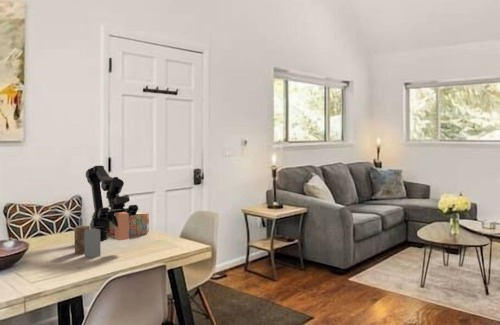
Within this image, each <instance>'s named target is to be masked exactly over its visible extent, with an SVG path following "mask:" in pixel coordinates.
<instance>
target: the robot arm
mask: <svg viewBox="0 0 500 325" xmlns="http://www.w3.org/2000/svg"><path fill="white" fill-rule="evenodd" d="M85 178H86V181H87V182H88V184H89V186H90V188H91V194H92V200H93V201H92V202H93V210H94V212H93V213H94V214H93V213H92V215H91V221H90V223H89V226H90V229H92V228H95V229H100V242H102V241H106V240H108V239H109V237H107V236H108V235H107V234H108V233H107V231H106V228H108V227H109V221H110V222H112V223H113V224H114V225H115V226H116V227H118V223H117V221H116V218H115V213H118V212H127V213H129V217H130V216H133V215H136V213H137V212H139V207H138V206H139V205H138V204H130V205H128V208H127V207H126V208H124V207H125V206H126V204H127V203H129V201H130V196H129V194H125V195H124V196H123V195H121V196H120V194H121V192H122V189H123V187H124V185H125V182H124V180H122V179H121V178H119V177H118V176H113V177H112V176H110V175H109V173H108V172H107V170H106V169H105V166H104V165H94V166H93V167H90V168H88V169H87V170H86V171H85ZM101 189H102V190H101ZM102 191H104V192H106V197H105V198H106V199H107V201H108V204H109V205H108V207H104V204H103V196H102ZM94 226H95V227H94Z"/></svg>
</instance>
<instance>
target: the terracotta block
mask: <svg viewBox="0 0 500 325" xmlns="http://www.w3.org/2000/svg"><path fill="white" fill-rule="evenodd" d="M114 215H115V218H116V221H117V223H118V227H116V226H115V235H114V239H115V240H117V241H124V240H129V239H130V235H129V213H127V212H118V213H115V214H114Z"/></svg>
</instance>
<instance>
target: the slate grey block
mask: <svg viewBox="0 0 500 325" xmlns="http://www.w3.org/2000/svg"><path fill="white" fill-rule="evenodd" d="M101 253H102V252H101V241H100V229H95V228H92V229H87V230H85V254H84V257H85V256H86V258H89V257H90V258H89V259H94V258H98V257H101V256H102V255H101ZM93 257H94V258H93Z"/></svg>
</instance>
